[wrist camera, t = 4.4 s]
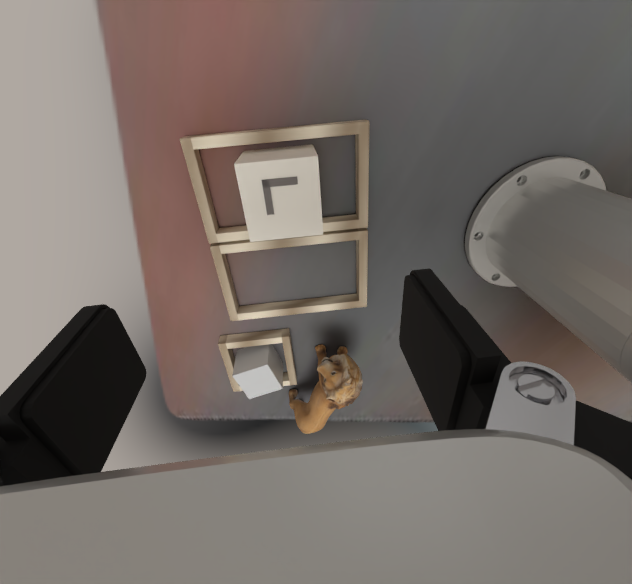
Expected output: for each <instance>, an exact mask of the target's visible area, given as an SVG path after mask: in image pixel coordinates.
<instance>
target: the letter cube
mask: <svg viewBox="0 0 632 584" xmlns="http://www.w3.org/2000/svg"><path fill="white" fill-rule="evenodd" d="M234 166H235V171H236V176H237V181H238V186H239V191H240V195H241V200H242V205H243V210H244V215H245V220H246V225H247V230H248V234H249V239H250V242H255V241H265V240H275V239H285V238H295V237H304V236H314V235H323V222H322V207H321V193H320V178H319V163H318V155H317V153H316V151H315V149H314V146H313V144H310V145H300V146H289V147H279V148H268V149H258V150H247V151H243V153H242V154H241V155H240V157H239V158H238V159H237V161H236V162H235V163H234Z"/></svg>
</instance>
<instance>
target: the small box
mask: <svg viewBox="0 0 632 584" xmlns="http://www.w3.org/2000/svg"><path fill="white" fill-rule="evenodd" d="M277 343H283V348H284V354H285V359H286V365H287V371H288V372H284V373H283V386H288V385H297V378H296V370H295V363H294V357H293V351H292V344H291V338H290V332H289V328H286V329H277V330H268V331H259V332H249V333H240V334H231V335H222V336H220V339H219V343H218V346H219V349H220V352H221V355H222V358H223V361H224V364H225V367H226V370H227V373H228V376H229V379H230V382H231V385H232V388H233V392H235V391H243V390H242V388H241V387H240V386H239V384H238V383H237V382H236V380H235V379H234V378H233V376H232V374H233V369H234V364H235V358H234V355H233V351H232V348H240V347H250V346H259V345H268V344H277Z"/></svg>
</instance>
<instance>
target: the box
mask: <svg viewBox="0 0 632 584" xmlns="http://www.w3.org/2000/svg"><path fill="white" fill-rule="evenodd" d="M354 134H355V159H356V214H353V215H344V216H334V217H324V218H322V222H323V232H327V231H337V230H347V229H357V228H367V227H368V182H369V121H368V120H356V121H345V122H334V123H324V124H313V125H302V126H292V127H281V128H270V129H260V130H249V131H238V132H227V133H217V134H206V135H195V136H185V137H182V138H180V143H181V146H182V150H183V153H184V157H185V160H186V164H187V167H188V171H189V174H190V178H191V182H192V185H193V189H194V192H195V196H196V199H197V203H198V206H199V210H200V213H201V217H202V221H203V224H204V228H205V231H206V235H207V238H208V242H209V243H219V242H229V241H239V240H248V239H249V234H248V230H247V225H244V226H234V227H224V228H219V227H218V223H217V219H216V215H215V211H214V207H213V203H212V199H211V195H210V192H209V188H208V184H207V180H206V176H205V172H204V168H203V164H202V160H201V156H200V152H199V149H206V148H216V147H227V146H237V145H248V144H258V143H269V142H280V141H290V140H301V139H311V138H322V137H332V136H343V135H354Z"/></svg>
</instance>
